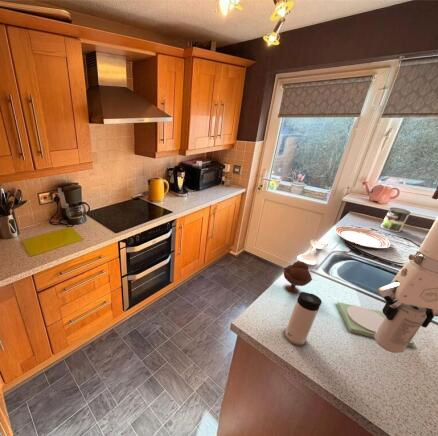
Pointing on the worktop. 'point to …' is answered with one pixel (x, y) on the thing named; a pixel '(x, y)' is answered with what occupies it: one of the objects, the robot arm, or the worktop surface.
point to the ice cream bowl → (297, 276)
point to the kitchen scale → (362, 319)
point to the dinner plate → (362, 237)
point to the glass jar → (395, 219)
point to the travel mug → (302, 318)
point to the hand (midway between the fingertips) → (403, 319)
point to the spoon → (311, 254)
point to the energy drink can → (400, 328)
